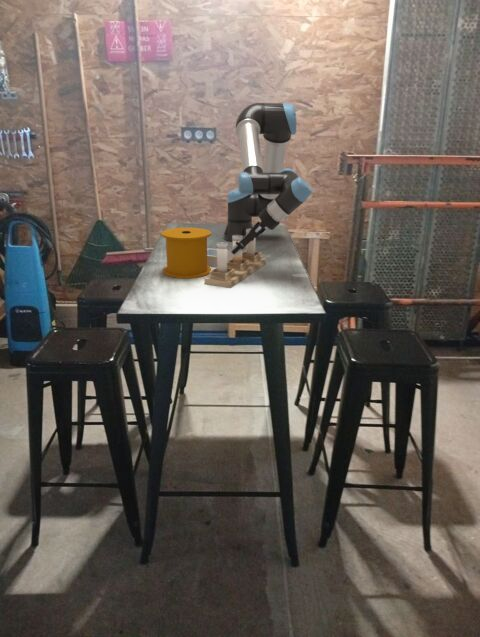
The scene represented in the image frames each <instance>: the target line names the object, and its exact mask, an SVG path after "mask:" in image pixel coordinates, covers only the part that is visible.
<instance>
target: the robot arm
mask: <svg viewBox="0 0 480 637" xmlns="http://www.w3.org/2000/svg"><path fill="white" fill-rule="evenodd" d="M235 133H236V135H237V137H238V139H239V150H240V160H241V171H242V172H239V173H238V174H237V175H238V176H237V189H233V190H230V191H229V192H228V194H227V201H226V202H227V221H226V226H225V230H224V233H223V239H224V240H225V241H227V242H232V243H233V240H232V236H233V235H242V236H243V239H242V240H241V241H240V242H239V243H238V242H236V245H235V246H234V247H233V246H232V247H231V248H230V250H228V251H229V252H228V253H227V260H228V261H230V260H231V259H232V258H234V257H235V256H236V255H237V254H238V253H239V252H240V251H241V250H242V251H243V250H244V249H245V248H246V245H247V244H248V243H249V242H250V241H253V240H254V238H256V239H257V237H258V236H260V235H261V234H263V233H264V232H265V231H266V230H267V229H268V230H272V231H273V230H275V229H276V228H277V227H278V226H279V225H281V224H280V223H282V222H283V221H284V220H288V219H289V217H288V216H290V215H291V214H292V213H293V212H294V211H295V210H297V209H298V208H299V207H300V206H301V205H303V203H305V202H306V201H307V199H308V198H309V197H310V196H312V194H313V190H312V188H311V186H310V185H309V183H308V182H307V181H306V180H304V179H303V178H302V177H301V176H298V174H297V173H296V171H295V170H293V169H292V168H284V165H285V164H284V162H285V158H286V157H285V155H286V148H287V143H288V142H290V141H291V138H292V136H294V135H296V133H297V113H296V108H295V106H294V104H292V103H285V102H282V103H281V102H278V103H277V102H254V103H251V104H249V105H248V106H246V107H245V108H243V110H241V112H240V113H239V115H238V116H237V119H236V122H235ZM259 135H262V137H263V138H264V140H265V149H264V150H265V151H264V161H263V159H262V152H261V145H260V144H261V142H260V136H259ZM253 218H259V220H260V221H259V220H258V221H257V222H256V223H255V224H254V225H253ZM248 228H252V229H251V230H250V231H249V233H248V234H247V235H246V229H248Z"/></svg>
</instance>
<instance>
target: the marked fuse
mask: <svg viewBox="0 0 480 637" xmlns="http://www.w3.org/2000/svg"><path fill="white" fill-rule="evenodd" d="M242 239H243V236H242V235H233V236H232V240H233V242H232V248H233V247H234V246H235V245H236V242H238V243H239V242H240V241H241V240H242ZM242 253H243V249H242V250H241V251H240V252H239V253H238V254H237V255H236V256H235V257H234V258H232V263H237V264H242Z"/></svg>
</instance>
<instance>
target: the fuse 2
mask: <svg viewBox="0 0 480 637" xmlns="http://www.w3.org/2000/svg"><path fill="white" fill-rule="evenodd" d="M251 229H252V228H248V229H246V235H247V234H248V233H249V231H250V230H251ZM256 239H257V237H256V238H254V240H253V241H250V242H249V243H248V244H247V245H246V246H245V251H246V255H252V256H255V252H256V243H257V242H256V241H257V240H256Z"/></svg>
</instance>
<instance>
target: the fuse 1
mask: <svg viewBox="0 0 480 637" xmlns="http://www.w3.org/2000/svg"><path fill="white" fill-rule="evenodd" d="M228 246H229V243H228V242H225V241H221V242H220V241H219V242H216V249H217V267H216V268H217V272H219V273H227V250H228V248H229V247H228Z"/></svg>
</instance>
